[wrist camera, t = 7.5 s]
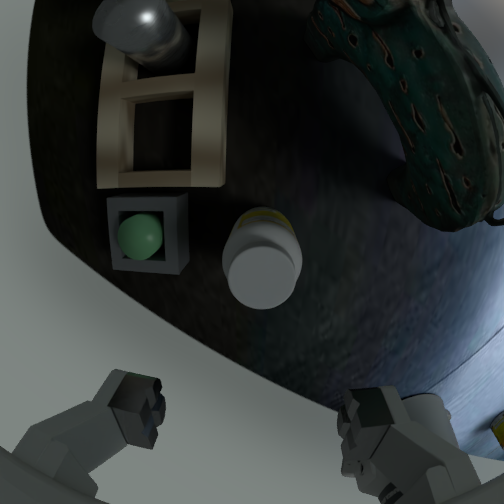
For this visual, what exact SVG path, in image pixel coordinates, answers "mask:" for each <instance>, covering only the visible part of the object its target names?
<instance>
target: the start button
mask: <svg viewBox="0 0 504 504" xmlns="http://www.w3.org/2000/svg"><path fill="white" fill-rule="evenodd" d="M118 243H119V246H120V248H121V249H122V251H123V252H124V253H125V254H126V255H127V256H128V257H130V258H132V259H134V260H145V259H147V258H149V257H150V256H151V255H153V254H154V253H155V252H156V251H157V250H158V249H159V248H161V247H162V246H163V245H164V244H165V238H164V217H163V216H162V215H161V214H160V213H158V212H156V211H143V212H141V213H138V214H136V215H134V216H132V217H130V218H128V219H126V220H125V221H123V223H122V224H121V225H120V227H119V230H118Z"/></svg>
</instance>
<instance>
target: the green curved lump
mask: <svg viewBox="0 0 504 504" xmlns="http://www.w3.org/2000/svg"><path fill="white" fill-rule="evenodd" d="M303 40H304V41H305V42H306V44H307V45H308V47H309V48H310V50H311V51H312V52H313V54H314V55H315V57H316V58H317V60H319V61H321V62H330V61H334V60H337V59H339V58H340V59H343V60H346V61H348V62H350V63H352V64H354V65H355V66H356V67H357V68H358V69H359V70H360V71H361V72H362V73H363V74H364V75H365V77H366V78H367V79H368V81H369V82H370V83H371V85H372V86H373V87H374V89H375V90H376V92H377V93H378V95H379V97H380V99H381V101H382V103H383V105H384V107H385V109H386V111H387V112H388V114H389V116H390V118H391V120H392V122H393V124H394V126H395V128H396V130H397V131H398V133H399V136H400V140H401V143H402V147H403V150H404V154H405V158H406V164H405V165H403V166H401V167H399V168H397V169H395V170H394V171H392V172H391V173H390V174H389V176H388V177H387V182H388V186H389V189H390V191H391V193H392V195H393V197H394V199H395V200H396V201H397V203H399V204H400V205H402V206H403V207H405V208H406V209H408V210H409V211H410V212H411V213H413V214H414V215H415V216H416V217H417V218H418V219H420V220H421V221H422V222H423V223H424V224H426V225H428V226H430V227H433V228H435V229H438V230H440V231H443V232H457V231H459V230H461V229H463V228H465V227H469V226H472V225H474V224H475V223H477V222H482V221H483V220H485V221H486V222H487V223H488V224H489V225H491V226H501V225H504V218H503V219H499V220H497V219H494V218H493V213H494V211H495V210H497V209H498V208H500V207H501V206H502V205H503V204H504V88H503V85H502V83H501V80H500V78H499V76H498V74H497V72H496V70H495V68H494V66H493V64H492V62H491V60H490V59H489V57H488V55H487V54H486V52H485V51H484V49H483V48H482V46H481V45H480V43H479V42H478V40H477V39H476V38H475V36H474V35H473V34H472V32H471V31H470V30H469V29H468V27H467V26H466V25H465V24H464V22H463V21H462V20H461V19H460V18H459V17H458V15H457V13H456V12H455V10H454V8H453V5H452V0H316V2H315V4H314V8H313V11H312V12H311V13H310V14H309V15H308V17H307V26H306V31H305V34H304V37H303Z"/></svg>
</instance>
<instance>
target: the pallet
mask: <svg viewBox="0 0 504 504" xmlns="http://www.w3.org/2000/svg"><path fill="white" fill-rule="evenodd" d="M167 4H168V5H169V6H170V8H171V9H172V10H173V12H174V13H175V15H176V16H177V17H178V19H179V20H180V22H181V23H182V25H187V24H197V23H200V25H199V34H198V45H197V56H196V69H195V73H191V74H179V75H169V76H161V77H153V78H146V79H139V80H137V75H138V66H139V63H138V62H136V61H135V60H133V59H132V58H130V57H129V56H127V55H126V54H124V53H123V52H121V51H119V50H118V49H116V48H115V47H113V46H111V45H110V44H108V43H106V47H105V54H104V60H103V68H102V75H101V84H100V95H99V107H98V123H97V189H101V188H126V187H220V186H222V185H224V184H225V165H226V133H227V108H228V87H229V68H230V50H231V35H232V20H233V9H232V5H231V1H230V0H183V1H176V2H169V3H167ZM190 98H194V100H193V121H192V150H191V169H184V170H146V171H133V138H134V114H135V104H137V103H145V102H154V101H164V100H175V99H190Z"/></svg>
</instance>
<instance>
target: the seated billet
mask: <svg viewBox="0 0 504 504" xmlns="http://www.w3.org/2000/svg"><path fill="white" fill-rule="evenodd" d="M92 27H93V31H94V33H95V35H96V36H97V37H98V38H100V39H101V40H103V41H105V42H106V43H108V44H110V45H111V46H113V47H115V48H116V49H118V50H119V51H121V52H123V53H124V54H126V55H127V56H129V57H130V58H132V59H133V60H135V61H136V62H138V63H140V64H141V65H143V66H144V67H146V68H147V69H148V70H150V71H151V72H153V73H154V74H156V75H158V76H169V75H177V74H180V73H181V72H183V71H184V70H186V69H187V68H188V67H189V66H190V65H191V64H192V62H193V60H194V58H195V55H196V45H195V42H194V41H193V39H192V38H191V36H190V35H189V33H188V32H187V30H186V29H185V27H184V26H183V25H182V23H181V22H180V20H179V19H178V17H177V16H176V15H175V13H174V12H173V10H172V9H171V8H170V6H169V5H168V4H167V2H166V1H165V0H104V1H103V2H102V3H101V4H100V6H99V7H98V9H97V10H96V12H95V15H94V18H93V22H92Z"/></svg>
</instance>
